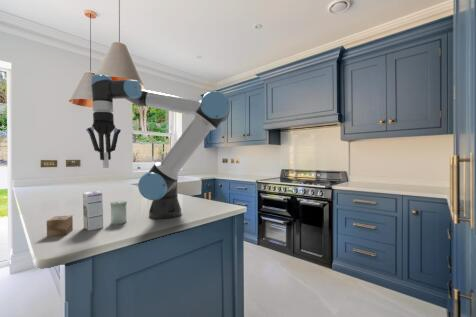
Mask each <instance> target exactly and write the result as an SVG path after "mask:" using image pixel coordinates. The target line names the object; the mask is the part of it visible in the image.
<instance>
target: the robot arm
mask: <svg viewBox="0 0 476 317" xmlns="http://www.w3.org/2000/svg"><path fill="white" fill-rule="evenodd" d="M90 88H91V95H92V111H93V113H92V118H93V120H92V121H93V122H92V125H91V126H90V127H88V128H86V132H87V133H88V134H89V136H90V140H91V143H92V146H93V150H94V151H95V152H98V153H99V160H100V161H102V168H103V169H105V168H106V169H108V168H109V167H110V166H109V165H110V163H109V161H111V158H112V157H111V155H112V154H111V152H114V151H116V147H117V143H118V138H119V134H121V131H122V130H121V129H119V128H117V127H116V125H115V123H114V120H115V119H114V114H113V113H114V103H113V102H114V101H113V100H114V99H115V100H116V99H118V100H119V99H125V100H127V101H128V102H130V103H132V104H133V105H135V106H138V107H148V108H153V109H158V110H163V111H169V112H174V113H179V114H184V115H188V116H194V118H193V120H192V121H191V122H190V124H189V125H188V126H187V127H186V128H185V129H184V131H183V133H182V134H181V135H180V137H179V138H178V139H177V140H176V142H175V143H174V144H173V145H172V146H171V148H170V149H169V151H168V152H167V153H166V154H165V156H164V157H163V158H162V160H161V161H159V162H155V163H154V164H153V165H152V167H151V168H150V170H148V172H145V173H144V174H143V175H142V176H141V177H140V179H139V181H138V183H137V184H138V185H137V186H138V187H137V189H138V191H139V194H140V195H141V196H142V197H143V198H144V199H147V200H148V201H151V204H150V208H149V211H148V217H149V218H152V219H156V220H157V219H158V220H159V219H161V220H162V219H171V218H175V217H179V216H181V215H182V207H181V205H180V201H179V199H178V179H179V177H178V176H179V174H178V173H179V172H180V171H181V170H182V169H183V167H184V166H185V165H186V164H187V162H188V161H189V160H190V159H191V156H192V155H193V154H195V152H196V150H197V149H198V148H199V146H200V145H201V144H202V142H203V141H205V139H206V137H207V136H208V135H209V133H210V132H211V131H212V130H213V131H215V130H217V128H218V127H219V126H220V125H221V123H223V122H225V121H226V120H227V119H228V118H229V116H230V110H231V108H230V106H231V104H230V100H229V99H228V97H227V96H226V95H225V94H224V93H223V92H221V91H217V90H211V91H208V92H206V93H205V94H204V95H203V96H202V97H201V100H196V99H191V98H186V97H181V96H177V95H171V94H166V93H162V92H156V91H153V90H152V91H151V90H146V89H142V85H141V83H140V81H139V80H137V79H120V80H119V79H117V80H112V77H111V76H109V75H106V74H94V75H93V76H91V86H90ZM95 132H96V133H97V134H98V135H97V137H98V141H97V137H96V134H95ZM112 132H113V136H112V140H111V134H112ZM104 137H105V141H104ZM104 144H105V145H104Z"/></svg>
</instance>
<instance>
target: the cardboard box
mask: <svg viewBox="0 0 476 317" xmlns="http://www.w3.org/2000/svg"><path fill="white" fill-rule="evenodd" d="M73 219H74V218H73V215H59V216H53V217H51V218H49V219H47V220H46V238H52V237H53V236H54V237H63V236H65V237H66V236H68V235H69V234H70V233H71V232H73V230H74V226H73V222H74V221H73Z"/></svg>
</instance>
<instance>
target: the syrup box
mask: <svg viewBox="0 0 476 317" xmlns="http://www.w3.org/2000/svg"><path fill="white" fill-rule="evenodd" d="M103 205H104V204H103V192H101V191H99V190H98V191H97V190H95V191H92V190H91V191H86V192H83V193H82V207H83V208H82V209H83V210H82V212H83V217H82V218H83V229H85V230H86V231H93V230H95V231H96V230H99V229H103V228H104V206H103Z"/></svg>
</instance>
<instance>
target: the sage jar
mask: <svg viewBox="0 0 476 317" xmlns="http://www.w3.org/2000/svg"><path fill="white" fill-rule="evenodd" d="M127 204H128V201H126V200H118V201H117V200H115V201H112V202H110V204H109V206H110V218H111V219H110V224H111V225H121V224H125V223H127Z"/></svg>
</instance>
